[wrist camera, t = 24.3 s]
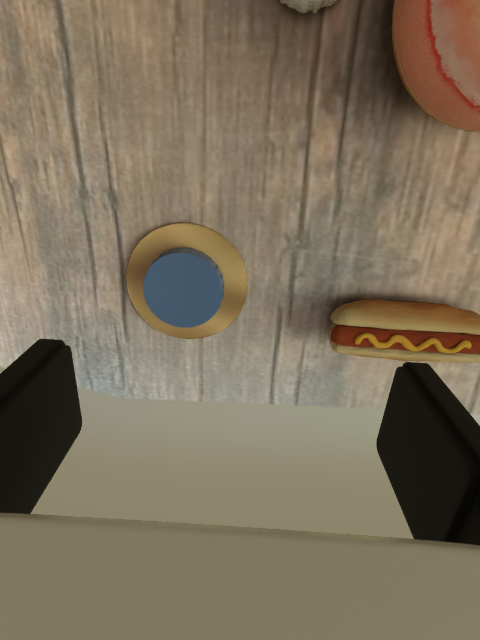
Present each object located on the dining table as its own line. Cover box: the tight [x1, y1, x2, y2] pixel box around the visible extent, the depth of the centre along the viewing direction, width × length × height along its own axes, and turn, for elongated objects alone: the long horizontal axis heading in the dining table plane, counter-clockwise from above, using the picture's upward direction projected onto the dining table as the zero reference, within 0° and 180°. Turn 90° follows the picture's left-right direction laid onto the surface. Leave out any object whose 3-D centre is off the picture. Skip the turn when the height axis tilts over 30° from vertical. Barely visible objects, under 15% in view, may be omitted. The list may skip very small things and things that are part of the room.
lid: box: [143, 247, 225, 328], centre depth 33 cm, size 7×7×2 cm
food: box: [328, 299, 480, 363], centre depth 33 cm, size 14×6×5 cm, turn 87°
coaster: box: [126, 223, 247, 339], centre depth 34 cm, size 11×11×1 cm
